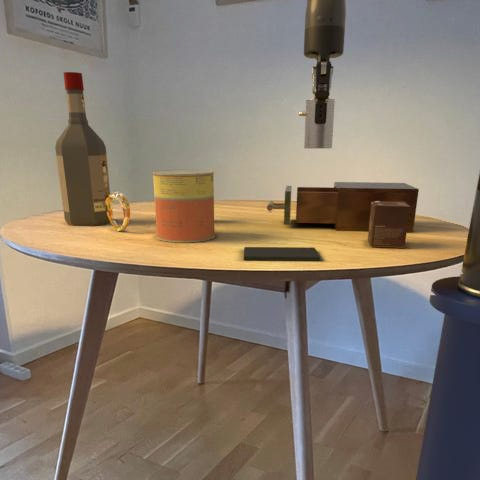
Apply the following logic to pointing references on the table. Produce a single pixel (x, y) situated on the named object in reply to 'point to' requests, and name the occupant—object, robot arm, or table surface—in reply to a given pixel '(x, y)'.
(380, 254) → the table surface
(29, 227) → the table surface
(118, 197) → the ring
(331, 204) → the drawer
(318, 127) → the measuring cup
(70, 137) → the liquor
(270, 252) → the trivet
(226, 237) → the table surface
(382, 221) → the box
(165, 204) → the canned food
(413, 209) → the cabinet
